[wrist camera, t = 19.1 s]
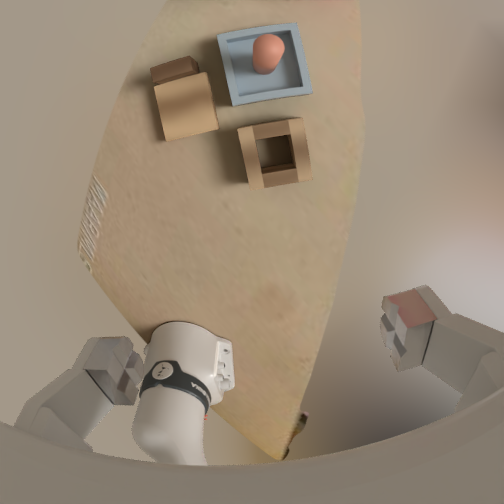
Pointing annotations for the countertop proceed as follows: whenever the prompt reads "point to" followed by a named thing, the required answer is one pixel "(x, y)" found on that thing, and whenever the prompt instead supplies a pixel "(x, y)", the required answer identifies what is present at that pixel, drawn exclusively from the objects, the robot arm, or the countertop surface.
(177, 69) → the block
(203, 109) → the tan wooden cuboid
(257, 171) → the socket block
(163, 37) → the countertop surface
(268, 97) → the tray
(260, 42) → the dowel
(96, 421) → the robot arm
